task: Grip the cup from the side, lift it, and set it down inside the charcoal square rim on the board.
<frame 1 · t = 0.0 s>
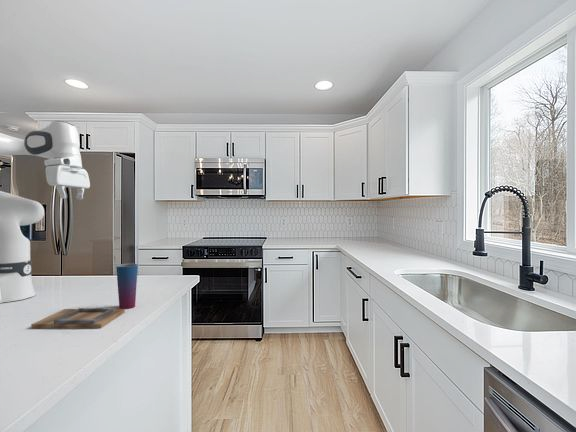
hand: (72, 198, 122), 39 cm above the table, tool pointing down, fingers open, 8 cm apart
board: (81, 319, 98), on the table
cup: (127, 307, 112), on the table
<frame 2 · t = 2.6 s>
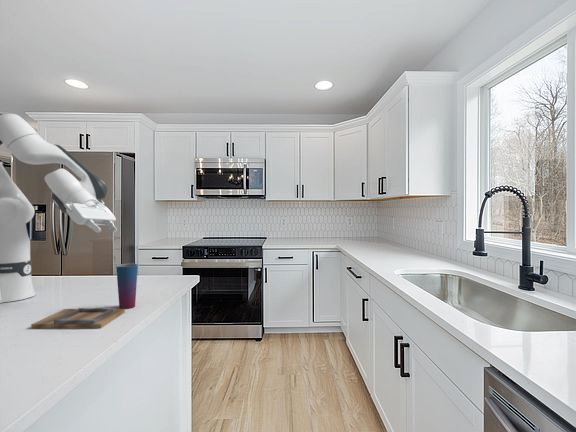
hand: (107, 231, 114), 27 cm above the table, tool tilted 45°, fingers open, 8 cm apart
nothing on the table moved.
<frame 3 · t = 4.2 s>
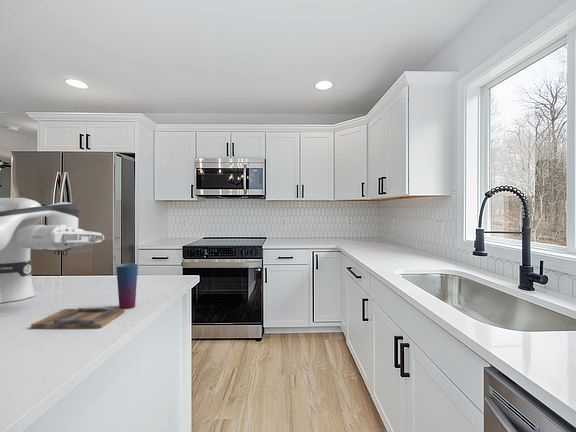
hand: (91, 237, 107), 25 cm above the table, tool horizontal, fingers open, 8 cm apart
nothing on the table moved.
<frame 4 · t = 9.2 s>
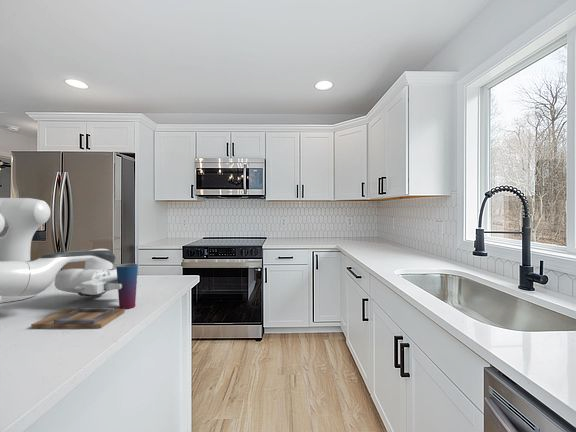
hand: (129, 283, 111), 8 cm above the table, tool horizontal, fingers closed on cup, 6 cm apart
cup: (127, 307, 112), on the table, touching gripper
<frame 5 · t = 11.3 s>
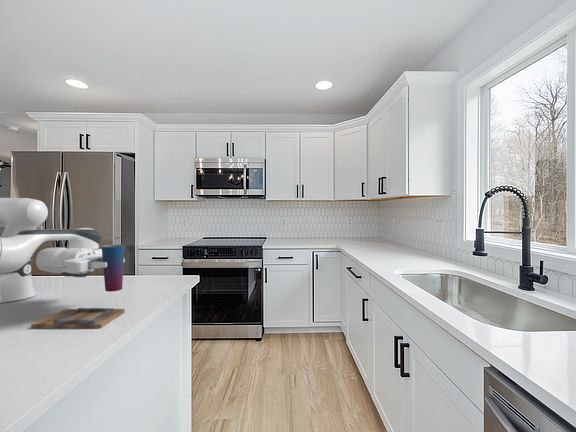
hand: (115, 262, 106), 17 cm above the table, tool horizontal, fingers closed on cup, 6 cm apart
cup: (113, 290, 106), point 7 cm above the table, touching gripper
when the fingers open (11 cm above the table, at t = 13.9 s): cup stays where it is, resting on board.
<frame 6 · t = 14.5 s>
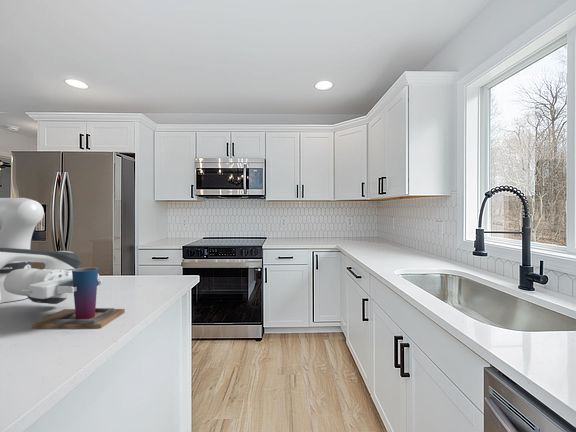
hand: (88, 285, 97), 11 cm above the table, tool horizontal, fingers open, 8 cm apart
cup: (85, 317, 97), point 1 cm above the table, touching board
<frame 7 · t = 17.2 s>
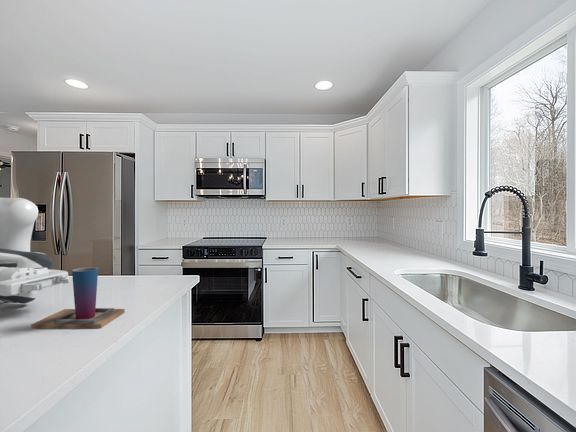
hand: (54, 283, 100), 11 cm above the table, tool horizontal, fingers open, 8 cm apart
nothing on the table moved.
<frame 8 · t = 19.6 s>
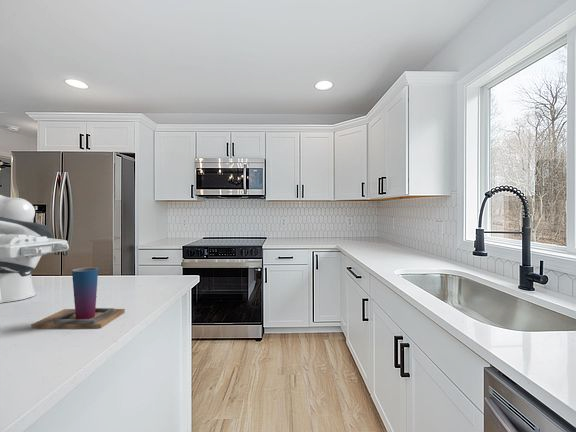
hand: (53, 249, 99), 22 cm above the table, tool horizontal, fingers open, 8 cm apart
nothing on the table moved.
at the end: cup 0.2 cm from the target spot on the board, point 1.0 cm above the board's base; cup tilted 0°; the gripper is holding nothing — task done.
